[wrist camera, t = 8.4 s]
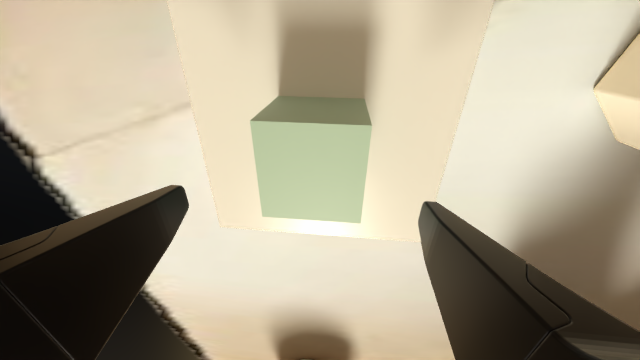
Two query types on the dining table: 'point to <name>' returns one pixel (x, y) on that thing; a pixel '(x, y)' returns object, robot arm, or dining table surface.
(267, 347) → the dining table surface
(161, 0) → the dining table surface
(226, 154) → the cream square slab
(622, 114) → the jar
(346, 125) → the green cube
